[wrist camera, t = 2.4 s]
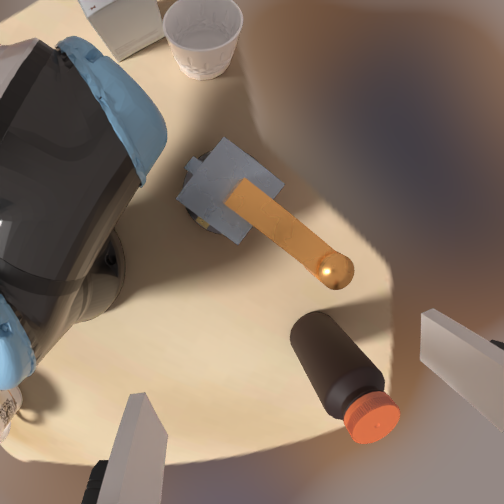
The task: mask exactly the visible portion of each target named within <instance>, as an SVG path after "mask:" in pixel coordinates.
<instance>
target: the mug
mask: <svg viewBox="0 0 504 504" xmlns="http://www.w3.org/2000/svg"><path fill="white" fill-rule="evenodd" d="M22 402H23V398H22V394H21V391H20V389H19V387H18V385H17V386H16V387H15V388H12V389H9V390H0V443H2V442H3V441H4V440H5V439H6V438H7V436H8V434H9V431H10V427H11V420H12V418H13V417H14V415H15V414H16V412H17V411H18V410H19V408H20V407H21V406H22Z"/></svg>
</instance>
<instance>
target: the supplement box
mask: <svg viewBox="0 0 504 504" xmlns="http://www.w3.org/2000/svg"><path fill="white" fill-rule="evenodd" d="M78 2H79V4H80V6H81V8H82V10H83V12H84V14H85V16H86V18H87V20H88V21H89V22H90V24H91V25H92V27H93V28H94V29H95V31H96V32H97V34H98V35H99V36H100V38H101V39H102V40H103V42H104V43H105V45H106V46H107V47H108V49H109V50H110V52H111V53H112V54H113V56H114V57H115V59H116V60H117V62H120V61H122V60H123V59H125V58H127V57H128V56H130V55H132V54H134V53H135V52H137V51H139V50H141V49H143V48H145V47H146V46H148V45H150V44H152V43H154V42H156V41H158V40H160V39H162V38H163V37H165V34H164V31H163V22H162V18H161V14H160V11H159V8H158V4H157V0H78Z"/></svg>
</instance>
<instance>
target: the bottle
mask: <svg viewBox="0 0 504 504" xmlns="http://www.w3.org/2000/svg"><path fill="white" fill-rule="evenodd" d="M290 341H291V345H292V347H293V349H294V351H295V353H296V355H297V357H298V359H299V361H300V363H301V365H302V366H303V368H304V370H305V372H306V374H307V376H308V378H309V380H310V382H311V384H312V386H313V387H314V389H315V391H316V393H317V395H318V397H319V399H320V401H321V403H322V405H323V407H324V408H325V410H326V412H327V413H328V414H329V415H330V416H332V417H334V418H335V419H341V420H343V421H344V424H345V426H346V428H347V430H348V432H349V434H350V435H351V437H352V439H353V440H354V441H355V442H357V443H360V444H368V443H373V442H375V441H378V440H380V439H381V438H383V437H385V436H386V435H387V434H388V433H389V432H391V430H393V428H394V427H395V426H396V424H397V422H398V420H399V417H400V409H399V407H398V406H397V405H396V404H395V402H394V401H393V400H392V399H391V398H390V396H389V395H387V394H386V393H385V392H384V386H385V380H384V377H383V375H382V373H381V371H380V370H379V369H378V368H377V367H376V366H375V365H374V364H373V363H372V362H371V360H370V359H369V358H368V357H367V356H366V355H365V354H364V353H363V352H362V351H361V349H360V348H359V347H358V346H357V345H356V344H355V343H354V342H353V341H352V340H351V339H350V337H349V336H348V335H347V334H346V333H345V332H344V331H343V330H342V329H341V328H340V327H339V326H338V324H337V323H336V322H335V321H334V320H333V319H332V318H331V317H330V316H329V315H326V314H324V313H320V312H313V313H309V314H306V315H305V316H303V317H301V318H300V319H299V320H298V321H297V322H296V323H295V324H294V326H293V328H292V330H291V334H290Z"/></svg>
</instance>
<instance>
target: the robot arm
mask: <svg viewBox="0 0 504 504" xmlns="http://www.w3.org/2000/svg"><path fill="white" fill-rule="evenodd" d="M55 48H56V49H53V48H51V47H50V46H48V45H47V44H45V43H44V42H42V41H41V40H39V39H38V38H32V39H28V40H25V41H22V42H18V43H15V44H12V45H1V44H0V390H9V389H12V388H15V387H16V386H17V385H19V384H20V383H21V382H22V381H23V380H24V379H25V378H26V377H29V376H31V375H32V374H33V373H34V371H35V369H36V366H37V365H38V364H39V362H40V361H41V360H42V359H43V358H44V357H45V355H46V354H47V353H48V352H49V351H50V350H51V349H52V347H53V346H54V345H55V344H56V343H57V342H58V341H59V340H60V339H61V337H62V336H63V335H64V334H65V333H66V332H67V331H68V330H69V329H70V328H71V327H72V325H73V324H75V323H79V322H84V321H88V320H91V319H94V318H96V317H98V316H99V315H101V314H102V313H103V312H105V311H106V310H107V309H108V308H109V306H110V305H111V304H112V303H113V302H114V300H115V299H116V298H117V296H118V294H119V292H120V290H121V288H122V285H123V281H124V276H125V258H124V252H123V248H122V245H121V242H120V240H119V238H118V236H117V234H116V232H115V230H114V229H113V228H114V226H115V224H116V223H117V221H118V219H119V218H120V216H121V214H122V213H123V211H124V210H125V208H126V206H127V205H128V203H129V202H130V200H131V199H132V197H133V195H134V194H135V192H136V191H137V189H138V188H139V187H141V188H142V187H143V186H144V184H145V182H146V176H147V174H148V173H149V171H150V170H151V168H152V166H153V165H154V163H155V162H156V160H157V159H158V157H159V156H160V154H161V153H162V151H163V149H164V147H165V145H166V142H167V128H166V123H165V121H164V118H163V116H162V115H161V113H160V111H159V110H158V108H157V107H156V105H155V104H154V103H153V101H152V100H151V99H150V97H149V96H148V95H147V94H146V93H145V91H144V90H143V89H142V88H141V87H140V86H139V85H138V84H137V83H136V82H135V81H134V80H133V79H132V78H131V77H130V76H129V75H128V74H127V73H126V72H125V71H124V70H123V69H122V68H121V67H120V66H119V65H118V64H117V63H116V62H114V61H113V60H112V59H111V58H110V57H108V56H103V54H102V53H101V52H100V51H99V50H98V49H97V48H96V47H94V46H93V45H92V44H91V43H89V42H88V41H86V40H84V39H82V38H80V37H77V36H71V37H67V38H65V39H64V40H63V41H59V42H58V43H57V45H56V46H55ZM420 361H422V362H423V363H424V364H425V365H426V366H428V367H429V368H430V369H431V370H432V371H433V372H434V373H435V374H437V375H438V376H439V377H440V378H441V379H443V380H444V381H445V382H446V383H447V384H448V385H449V386H451V387H452V388H453V389H454V390H455V391H456V392H457V393H458V394H460V395H461V396H462V397H463V398H464V399H465V400H466V401H468V402H469V403H470V404H471V405H472V406H473V407H474V408H475V409H476V410H478V411H479V412H480V413H481V414H482V415H483V416H484V417H485V418H487V419H488V420H489V421H490V422H491V423H492V424H493V425H494V426H495V427H496V428H498V429H499V430H500V431H501V432H502V433H503V432H504V343H503V342H499V341H495V340H491V341H487V340H486V339H484V338H483V337H481V336H479V335H478V334H476V333H474V332H472V331H471V330H469V329H467V328H466V327H464V326H463V325H461V324H459V323H457V322H456V321H454V320H452V319H451V318H449V317H447V316H446V315H444V314H442V313H440V312H439V311H437V310H435V309H434V308H433V309H430V310H428V311H425V312H423V313H422V314H421V347H420ZM167 439H168V434H167V432H166V431H165V429H164V427H163V425H162V423H161V422H160V420H159V418H158V416H157V414H156V412H155V410H154V408H153V407H152V405H151V403H150V401H149V399H148V397H147V395H146V393H145V392H144V393H138V394H130V396H129V399H128V402H127V405H126V408H125V411H124V414H123V417H122V420H121V423H120V426H119V429H118V432H117V435H116V438H115V441H114V445H113V448H112V451H111V455H110V458H109V460H99V462H98V463H97V464H96V465H95V466H94V468H93V469H92V472H91V475H90V478H89V481H88V484H87V489H86V490H85V493H84V497H83V500H82V503H81V504H161V494H162V493H161V492H162V483H163V473H164V465H165V456H166V447H167Z"/></svg>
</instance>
